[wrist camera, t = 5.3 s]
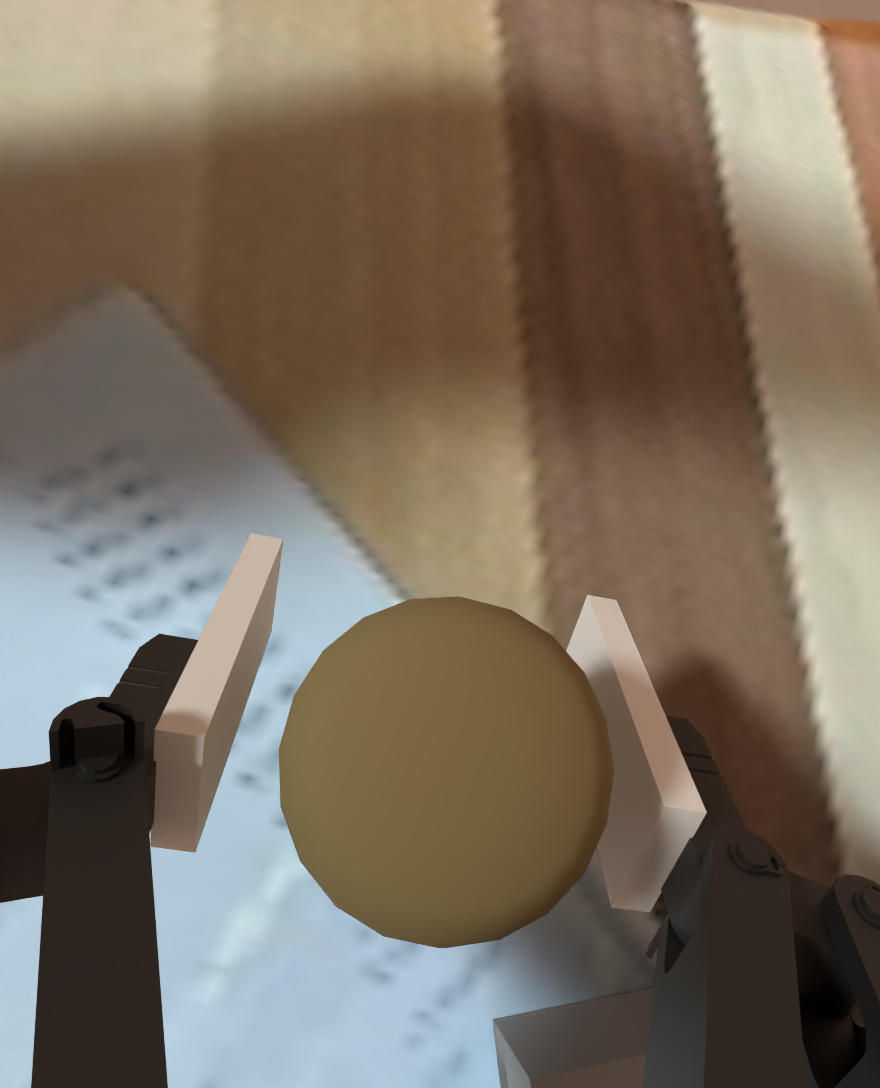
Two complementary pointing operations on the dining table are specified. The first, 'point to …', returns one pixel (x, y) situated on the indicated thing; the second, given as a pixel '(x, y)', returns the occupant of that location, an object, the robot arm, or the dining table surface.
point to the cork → (445, 772)
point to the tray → (576, 1044)
